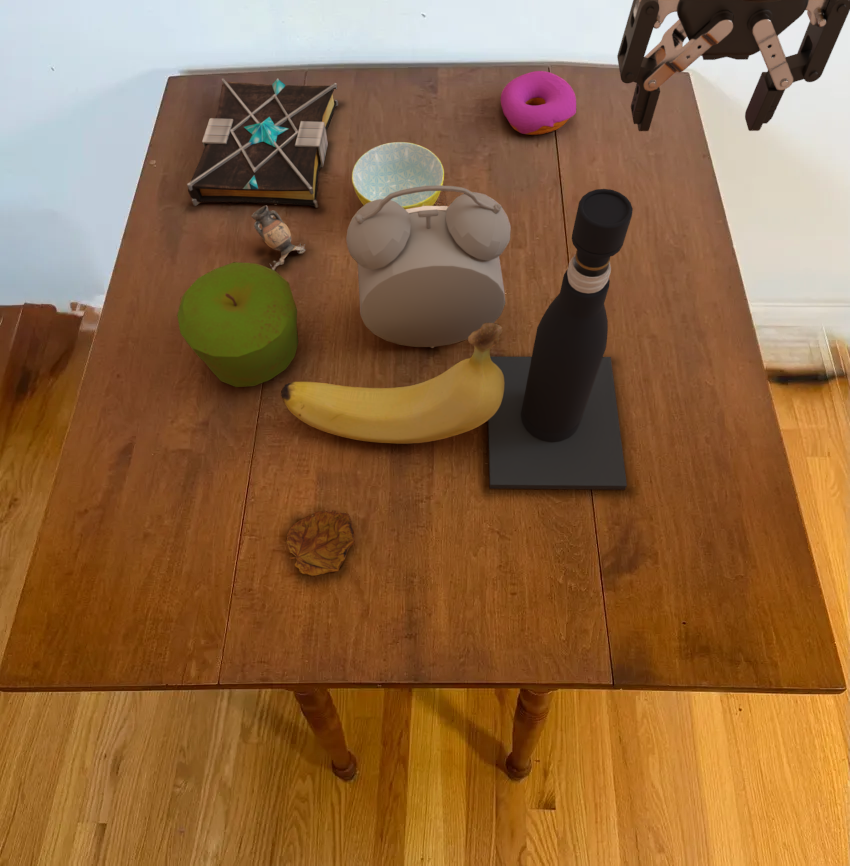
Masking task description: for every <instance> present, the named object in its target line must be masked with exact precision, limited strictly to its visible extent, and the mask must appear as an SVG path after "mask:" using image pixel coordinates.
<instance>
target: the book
mask: <svg viewBox="0 0 850 866" xmlns="http://www.w3.org/2000/svg"><path fill="white" fill-rule="evenodd" d="M220 80H221V83H222V84H221V88H220V95H219V100H218V107H217V112H216V115H215V118H213V117H211V118H209V120H208V123H207V126H206V129H205V131H204V135H203V137H202V141H201V143H202V147H203V152H202V154H201V157H200V159H199V162H198V163H197V166H196V168H195V170H194V173H193V175H192V178H191V180H190V181H189V182H188V183H186V186H187V192H188V195H189V197H190V198H191V203H192V205H193V206H194V207H197V206H198V205H199V204H201V203H251V204H252V203H254V204H283V205H299V206H311V207H314V208H315V209H317V208H319V203H318V200H317V195H318V186H319V184H318V183H319V174H320V170H321V168H324V164H325V160H326V155H327V151H328V146H329V141H328V136H327V135H328V134H327V130H328V128H329V125H330V124H331V120H332V117H333V115H334V112H335V110H336V107H338V106H339V101H338V99H334V94H333V93H334V90H337V89H338V84H337V83H336V82H334V83H332V84H331V85H296V84H295V85H292V84H285V83H284V82H283V81H281V79H279V78H276V80H275V81H274V82H273V83H272V84H266V83H264V84H263V83H262V84H261V83H250V82H238V81H227V80H226V79H225V78H224V77H223V78H221V79H220Z"/></svg>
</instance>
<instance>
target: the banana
mask: <svg viewBox="0 0 850 866" xmlns="http://www.w3.org/2000/svg"><path fill="white" fill-rule="evenodd" d="M502 332H503V326H501V325H500V324H499V323H496V322H495V323H484V324H483V325H482V326H481V328H479V329H478V330H476V331H474V332H472V333H471V335H470V336H469V337H468V339H467V342H468V343H469V344H470V345H472V346H473V348H474V350H473V353H472V355H471V357H469V358H464V359H463V360H460V361H458V362H457V363H456V364H454V365H452V366H451V367H449V368H448V369H447V370H445V371H444V372H442V373H441V374H439V375H436V376H435V377H433V378H430V379H428V380H425V381H422V382H419V383H416V384H412V385H406V386H399V387H360V386H349V385H339V384H333V383H325V382H315V381H292V382H287V383H286V384H284V386H283V387H282V388H281V391H280V396H281V399H282V403H284V405H285V406H286V408H287V409H288V411H289V412H290V413H291V414H292V415H293V416H295V418H297V419H298V420H300V421H301V422H303V423H304V424H306V425H308V426H310V427H312V428H314V429H317V430H319V431H321V432H324V433H327V434H331V435H334V436H338V437H342V438H346V439H351V440H356V441H361V442H362V441H363V442H370V443H379V444H397V445H399V444H404V445H405V444H407V445H408V444H422V443H429V442H430V443H431V442H435V441H440V440H443V439H447V438H451V437H452V438H453V437H455V436H458V435H461V434H464V433H467V432H470V431H472V430H474V429H476V428H478V427H480V426H482V425H484V424H485V423H486V422H488V420H489V419H490V418H491V417H492V416H493V415H494V414H495V413H496V412H497V410H498V408H499V407H500V405H501V402H502V398H503V394H504V375H503V373H502V371H501V370H500V368H499V367H498V366H497V365H496V364H494V363H493V362H492V361H491V358H490V357H491V355H490V354H491V353H490V352H491V350H492V348H493V347H494V346H496V345H497V344H498V343H499V342H500V336H501V334H502Z"/></svg>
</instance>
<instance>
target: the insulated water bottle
mask: <svg viewBox="0 0 850 866" xmlns="http://www.w3.org/2000/svg"><path fill="white" fill-rule="evenodd" d="M633 209H634V208H633V205H632V202H631V201H630V199H628V198H627V196H626V195H624V194H623V193H621V192H619V191H617V190H614V189H609V188H598V189H597V188H596V189H594V190H590V191H588V192H587V193H585V194H584V195H583V196H581V198H580V200H579V201H578V205H577V209H576V214H575V219H574V224H573V228H572V232H571V243H572V245H573V246H574V248H575V249H576V251H575V253H574V255H573V256H572V257H571V259H570V261H569V263H568V268H566V270H565V272H564V273H563V277H562V281H561V286H560V289H559V293H558V295H556V296H555V298H554V299H553V300H552V301H551V303H549V305H548V307H547V308H546V310H545V312H544V314H543V315H542V317H541V319H540V320H539V323H538V325H537V327H536V332H535V338H534V343H533V347H532V354H531V357H532V358H531V363H530V369H529V374H528V379H527V384H526V390H525V395H524V400H523V405H522V411H521V418H522V423H523V425H524V426H525V428H526V430H527V431H528V432H529V433H530V434H531V435H533V436H534V437H536V438H538V439H540V440H542V441H548V442H558V441H562V440H565V439H567V438H569V437H571V436H572V435H573V434H574V433H575V432H576V430H577V429H578V427H579V425H580V422H581V419H582V416H583V413H584V411H585V408H586V405H587V402H588V399H589V396H590V393H591V390H592V387H593V384H594V381H595V378H596V376H597V373H598V370H599V367H600V364H601V361H602V358H603V357H604V355H605V353H606V349H607V344H608V335H609V334H608V333H609V320H608V315H607V310H606V306H605V302H606V299H607V296H608V292H609V288H610V284H611V280H610V275H611V274H612V273H611V271H612V266H611V258H612V257H613V256H615V255H616V254H617V253H619V252H620V251H621V249H622V248H623V246H624V243H625V240H626V237H627V233H628V230H629V227H630V224H631V220H632V217H633V211H634V210H633Z"/></svg>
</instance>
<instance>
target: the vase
mask: <svg viewBox="0 0 850 866" xmlns="http://www.w3.org/2000/svg"><path fill="white" fill-rule="evenodd" d="M251 218H252V219H253V220H255V221H254V224H253V227H254V229H255V231H256V232H257V233H258V234H259V236H260V237H261V239H262V240H263V242H264V243H265V244H266V245H267V246H268V247H269V248H271V249H272V250H274V251H280V258H279V260H277V261H276V260H273V261H272V263H275V264H274V265H273V267H272V264H269V265H270V267H271V269H272V270H276V268H277V267H279V266H284V264H285V262H286V261H285V259H286V257H288V255H289V253H291V252H292V251H298V254H301V255H302V254H303V253H305V252H306V250H307V248H305V246H306V243H305V244H304V245H301V244H302V243H299V244H298V245H296V244H293V243H292V233H291V230H290V228H289V226H287V224H286V223H285V222H284V220H283V219H282V218H281V215H280V214H279V213H278V212H277V211H276V210H269V207H268V205H263V206H262V207H261V206H260V208H258V209H257V210H256V211H254V212H253V213H251Z"/></svg>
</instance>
